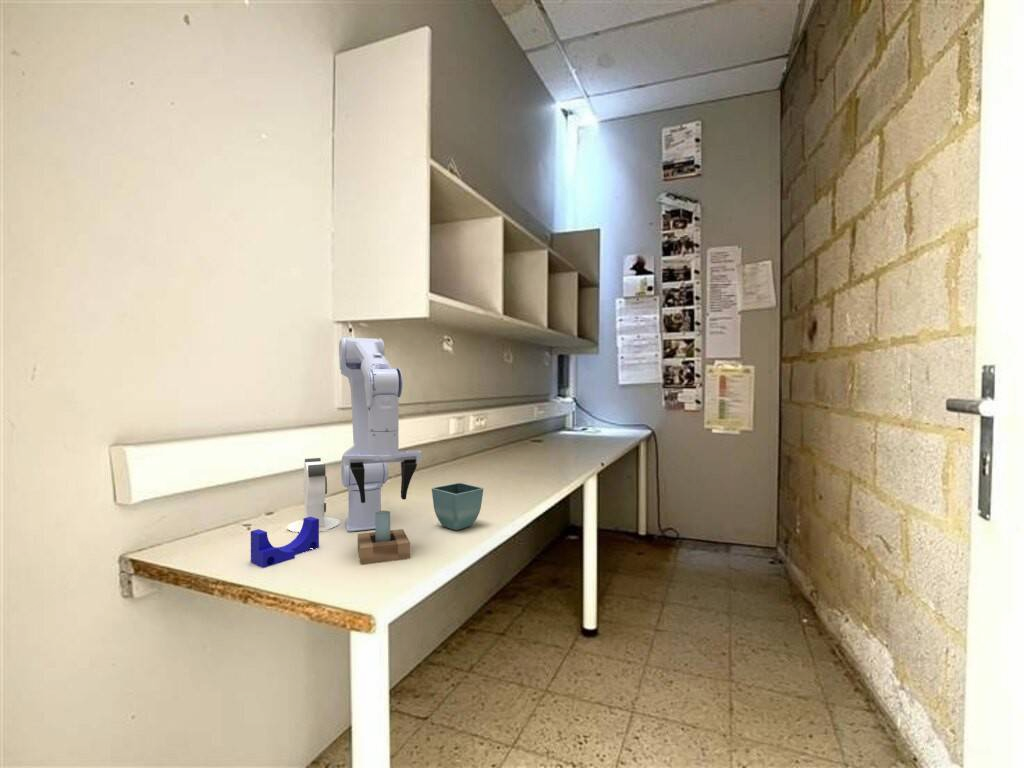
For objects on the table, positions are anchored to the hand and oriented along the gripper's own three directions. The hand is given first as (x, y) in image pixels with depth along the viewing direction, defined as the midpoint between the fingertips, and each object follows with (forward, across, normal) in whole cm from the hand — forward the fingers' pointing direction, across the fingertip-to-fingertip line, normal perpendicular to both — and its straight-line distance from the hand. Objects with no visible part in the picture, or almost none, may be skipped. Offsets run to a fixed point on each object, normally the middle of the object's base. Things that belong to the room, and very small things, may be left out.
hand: (383, 500), depth 95 cm
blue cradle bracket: (+11, -17, +5) cm, 21 cm away
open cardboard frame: (+10, 0, 0) cm, 10 cm away
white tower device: (+11, -13, +24) cm, 29 cm away
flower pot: (+11, +18, +12) cm, 24 cm away
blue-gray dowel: (+10, 0, 0) cm, 10 cm away
